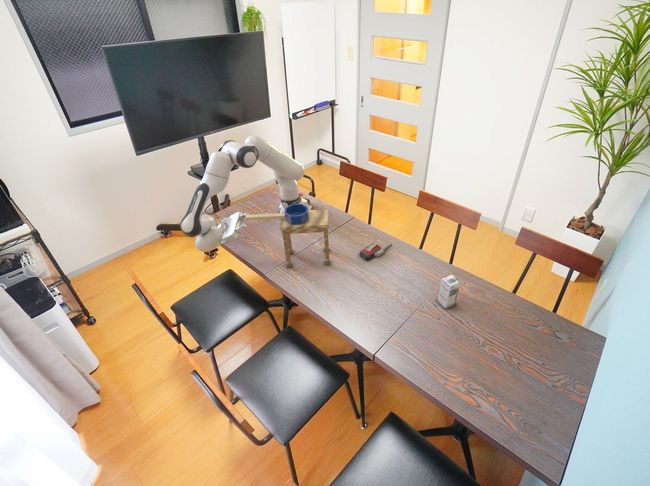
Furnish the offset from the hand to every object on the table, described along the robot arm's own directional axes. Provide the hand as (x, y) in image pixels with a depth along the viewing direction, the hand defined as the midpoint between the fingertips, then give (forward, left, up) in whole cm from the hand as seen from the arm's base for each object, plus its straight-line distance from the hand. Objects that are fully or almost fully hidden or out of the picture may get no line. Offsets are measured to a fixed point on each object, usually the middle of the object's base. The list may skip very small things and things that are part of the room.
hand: (246, 219), depth 159 cm
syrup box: (-13, +98, -27) cm, 103 cm away
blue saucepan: (-7, +13, -1) cm, 15 cm away
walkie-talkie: (-34, +55, -27) cm, 70 cm away
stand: (-14, +24, -27) cm, 39 cm away
